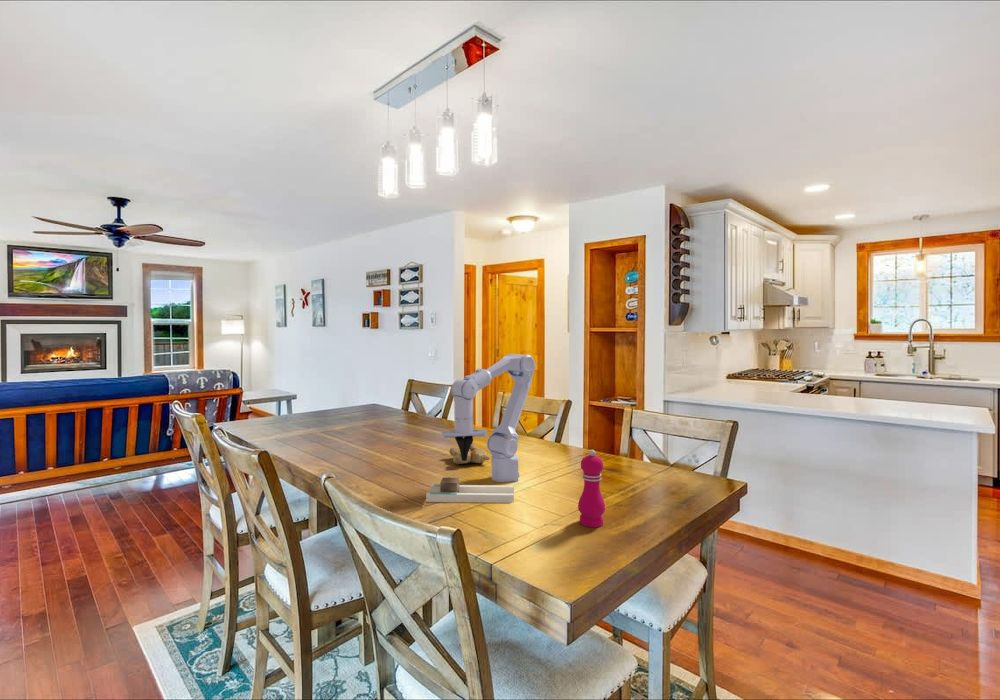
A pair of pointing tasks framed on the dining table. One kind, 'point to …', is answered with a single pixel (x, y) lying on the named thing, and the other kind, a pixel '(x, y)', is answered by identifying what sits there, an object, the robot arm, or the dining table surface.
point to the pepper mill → (591, 492)
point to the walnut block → (449, 485)
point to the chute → (473, 494)
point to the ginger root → (469, 455)
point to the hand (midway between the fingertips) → (464, 459)
